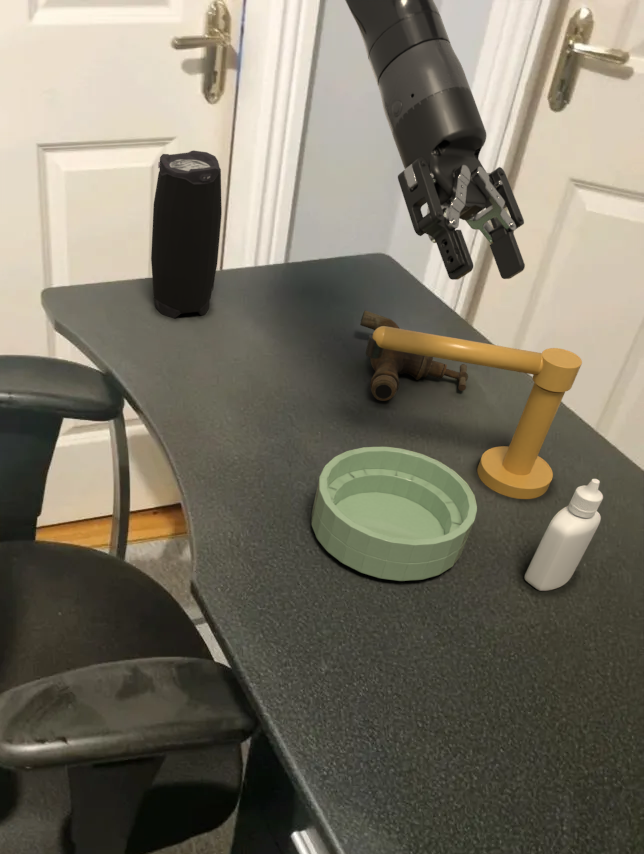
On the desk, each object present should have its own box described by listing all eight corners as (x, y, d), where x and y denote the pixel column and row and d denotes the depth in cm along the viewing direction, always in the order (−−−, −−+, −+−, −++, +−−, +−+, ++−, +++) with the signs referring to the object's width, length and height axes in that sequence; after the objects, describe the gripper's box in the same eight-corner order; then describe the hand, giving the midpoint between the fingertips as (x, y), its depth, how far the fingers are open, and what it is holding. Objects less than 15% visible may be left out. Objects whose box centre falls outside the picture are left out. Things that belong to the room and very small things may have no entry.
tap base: (529, 455, 100) (568, 364, 92) (560, 497, 95) (604, 404, 86) (466, 458, 99) (499, 365, 91) (493, 501, 94) (532, 406, 85)
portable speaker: (138, 309, 119) (141, 160, 106) (174, 286, 125) (181, 142, 111) (190, 328, 117) (200, 177, 103) (224, 303, 122) (238, 158, 109)
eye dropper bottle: (513, 562, 87) (556, 466, 78) (565, 561, 87) (614, 466, 79) (529, 593, 83) (576, 496, 75) (583, 591, 84) (636, 495, 76)
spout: (568, 379, 90) (580, 351, 88) (571, 398, 87) (584, 370, 85) (366, 344, 92) (373, 316, 90) (363, 362, 89) (370, 333, 87)
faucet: (354, 365, 103) (474, 400, 102) (368, 298, 114) (476, 330, 114) (342, 397, 106) (457, 431, 106) (357, 329, 118) (462, 360, 117)
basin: (429, 484, 95) (443, 443, 91) (484, 581, 84) (502, 539, 80) (294, 491, 92) (302, 449, 89) (333, 591, 82) (344, 548, 78)
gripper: (415, 73, 72) (479, 252, 71) (506, 93, 80) (565, 253, 80) (352, 132, 78) (411, 297, 77) (443, 145, 86) (497, 294, 86)
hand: (489, 275), depth 78 cm, fingers open, 8 cm apart
